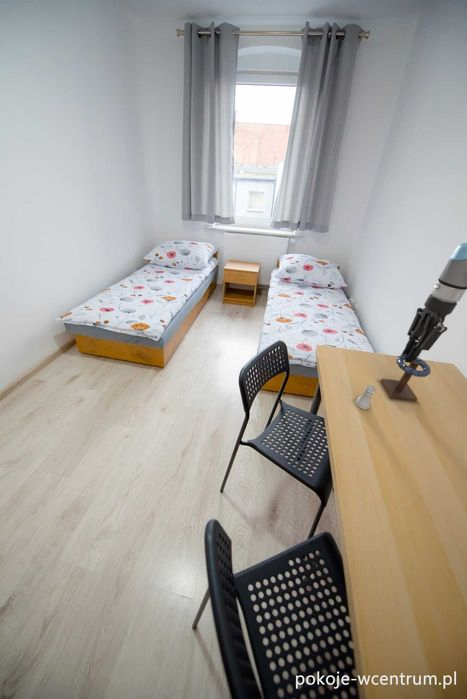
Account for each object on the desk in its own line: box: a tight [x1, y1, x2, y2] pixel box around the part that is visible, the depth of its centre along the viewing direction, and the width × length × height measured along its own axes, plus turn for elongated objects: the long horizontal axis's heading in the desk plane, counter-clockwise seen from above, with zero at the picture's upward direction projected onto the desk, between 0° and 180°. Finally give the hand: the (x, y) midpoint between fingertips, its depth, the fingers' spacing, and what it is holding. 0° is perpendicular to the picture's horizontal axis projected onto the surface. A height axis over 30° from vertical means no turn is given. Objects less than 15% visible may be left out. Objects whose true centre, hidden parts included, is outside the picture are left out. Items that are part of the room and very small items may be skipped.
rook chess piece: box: [355, 384, 377, 410], centre depth 90 cm, size 4×4×8 cm
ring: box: [395, 353, 432, 378], centre depth 93 cm, size 10×10×2 cm
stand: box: [380, 360, 420, 403], centre depth 96 cm, size 9×9×14 cm
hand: (406, 359), depth 97 cm, fingers closed on ring, 2 cm apart
